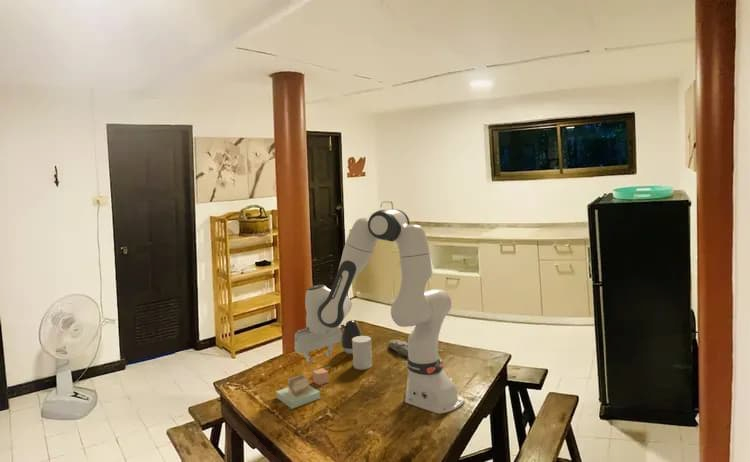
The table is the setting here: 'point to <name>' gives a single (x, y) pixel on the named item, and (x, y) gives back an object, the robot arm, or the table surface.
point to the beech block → (298, 385)
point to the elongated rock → (402, 347)
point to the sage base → (299, 400)
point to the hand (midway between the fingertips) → (319, 358)
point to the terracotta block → (320, 376)
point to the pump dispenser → (349, 335)
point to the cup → (362, 352)
